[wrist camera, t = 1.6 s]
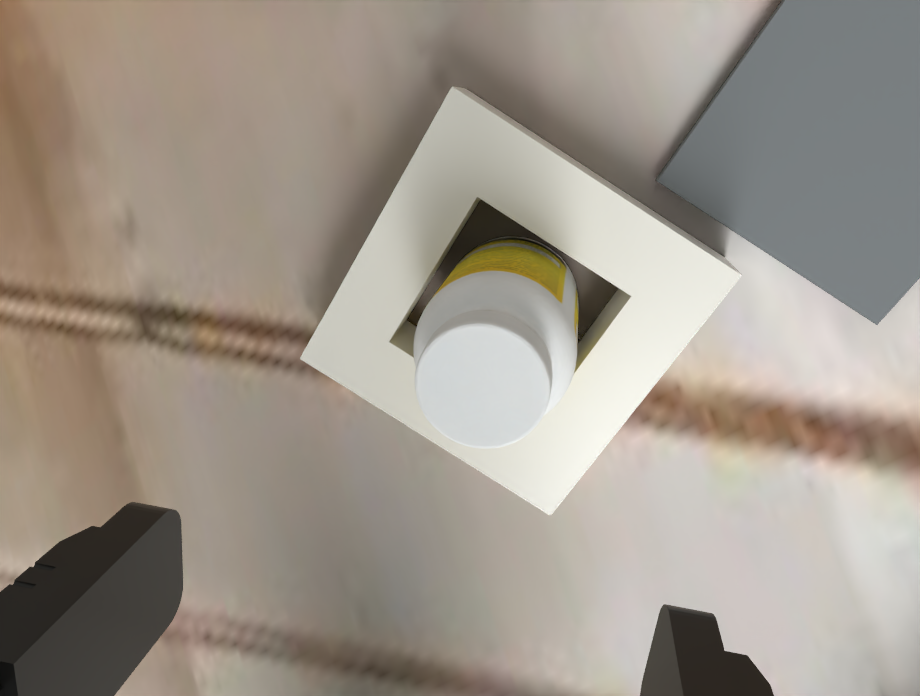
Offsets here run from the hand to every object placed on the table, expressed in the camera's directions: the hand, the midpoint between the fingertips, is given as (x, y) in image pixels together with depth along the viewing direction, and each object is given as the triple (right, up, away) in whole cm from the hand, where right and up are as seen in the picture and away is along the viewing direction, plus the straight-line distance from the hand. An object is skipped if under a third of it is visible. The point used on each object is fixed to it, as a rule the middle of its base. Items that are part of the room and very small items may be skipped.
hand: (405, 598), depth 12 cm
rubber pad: (+15, +12, +14) cm, 24 cm away
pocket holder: (+3, +6, +18) cm, 19 cm away
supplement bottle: (+3, +6, +18) cm, 19 cm away
